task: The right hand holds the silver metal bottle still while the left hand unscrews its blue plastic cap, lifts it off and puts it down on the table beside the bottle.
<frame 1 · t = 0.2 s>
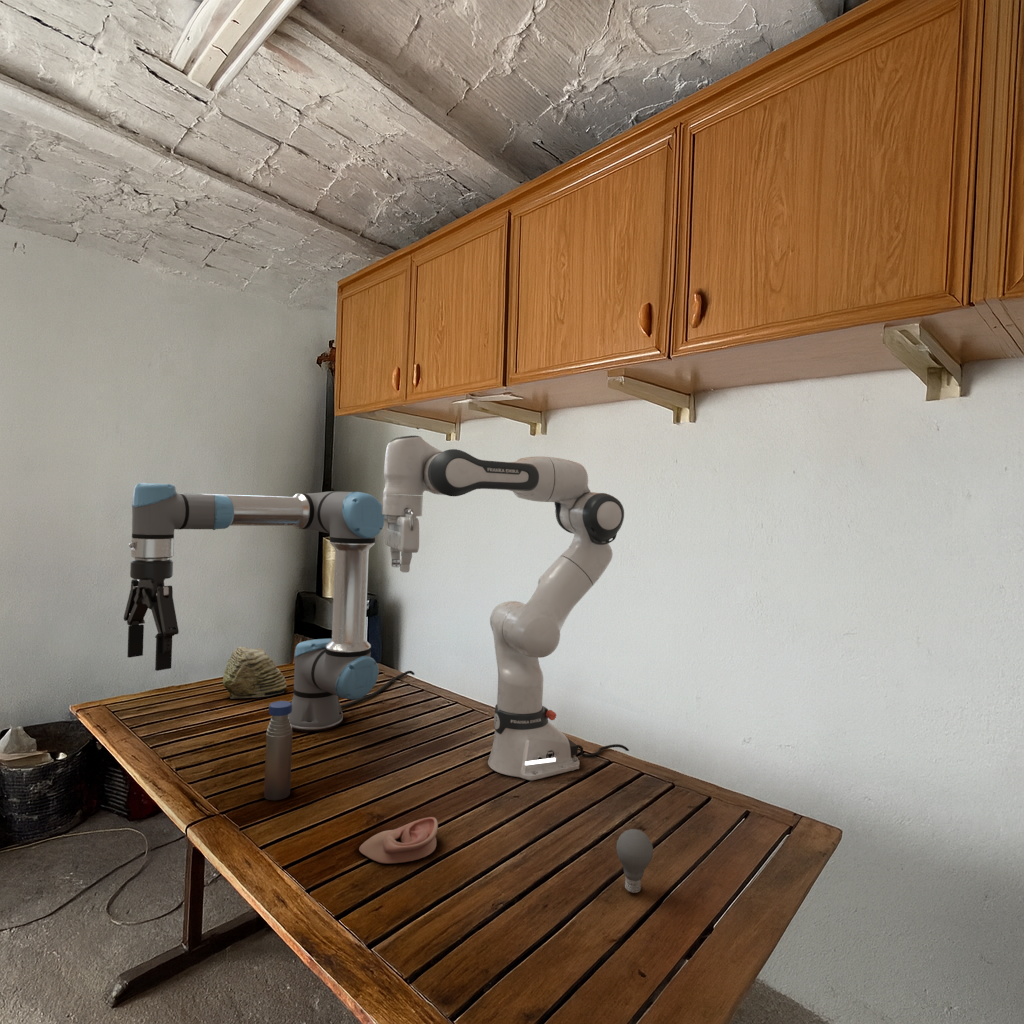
left hand: (148, 662, 129), 28 cm above the table, tool pointing down, fingers open, 13 cm apart
right hand: (400, 569, 142), 48 cm above the table, tool pointing down, fingers open, 8 cm apart
bottle: (277, 794, 134), on the table
light bulb: (632, 891, 106), on the table
fossil: (254, 694, 198), on the table
cap: (280, 705, 134), point 19 cm above the table, screwed on, not yet turned
anatomical model: (398, 848, 116), on the table
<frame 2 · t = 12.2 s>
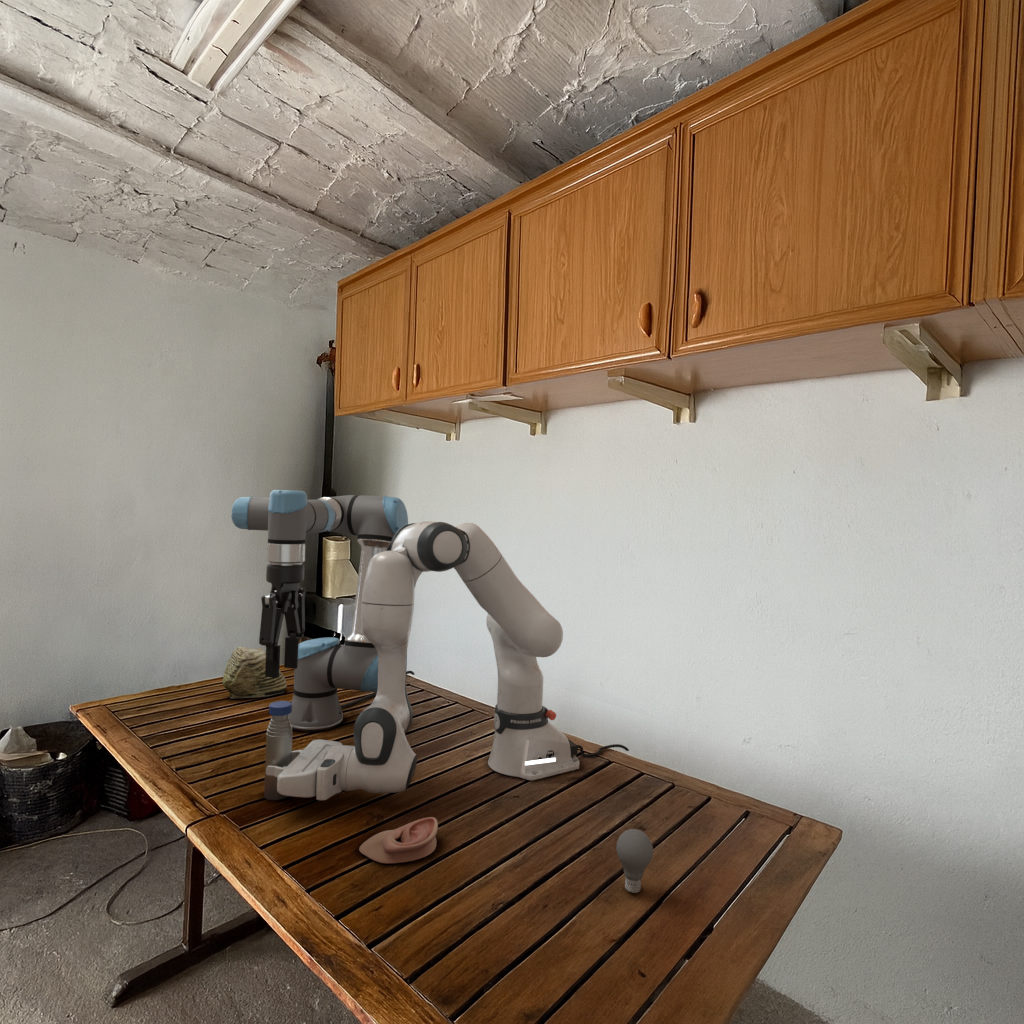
left hand: (281, 672, 133), 26 cm above the table, tool pointing down, fingers open, 7 cm apart
right hand: (274, 762, 134), 7 cm above the table, tool horizontal, fingers closed on bottle, 5 cm apart
bottle: (277, 794, 134), on the table, touching right hand
everything else where it was.
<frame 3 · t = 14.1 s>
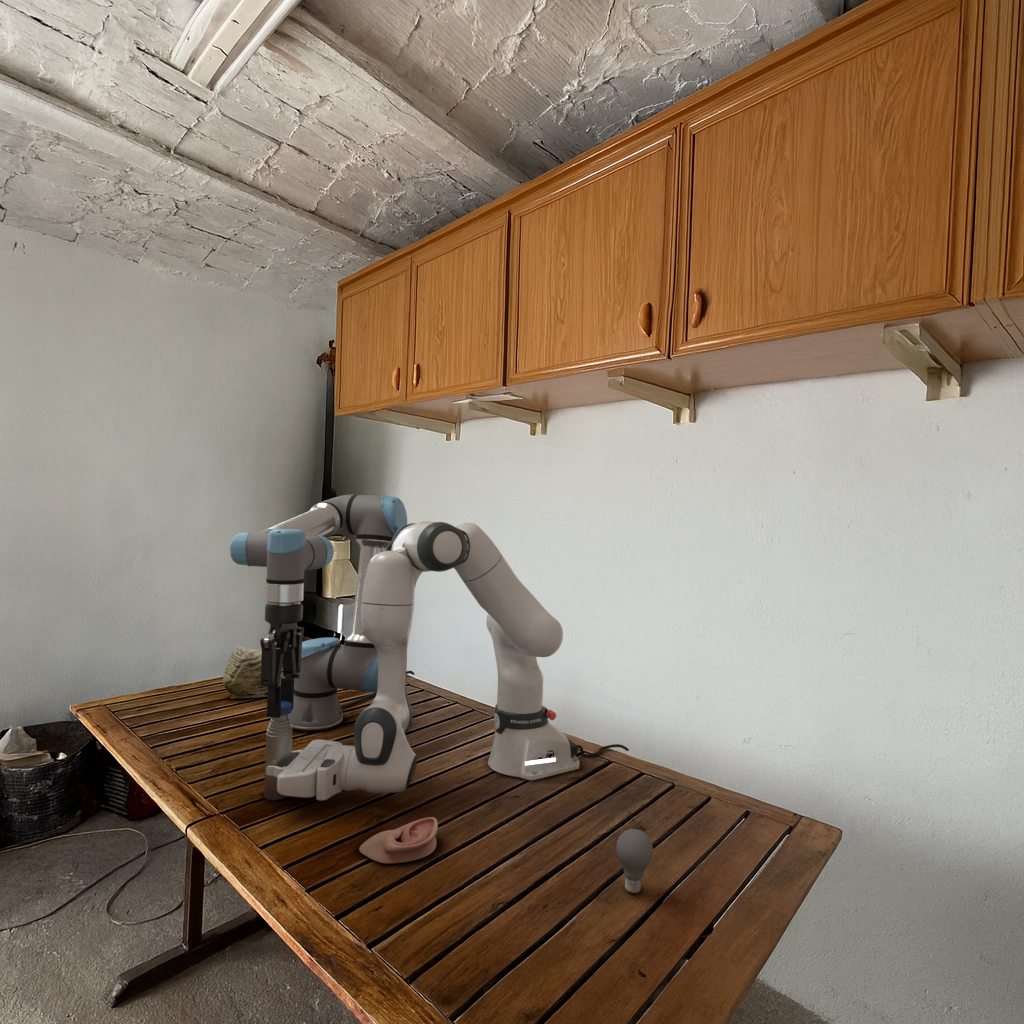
left hand: (280, 712, 134), 17 cm above the table, tool pointing down, fingers closed on cap, 4 cm apart
right hand: (274, 762, 134), 7 cm above the table, tool horizontal, fingers closed on bottle, 5 cm apart
bottle: (277, 794, 134), on the table, touching right hand
cap: (280, 705, 134), point 19 cm above the table, screwed on, not yet turned, touching left hand
everything else where it was.
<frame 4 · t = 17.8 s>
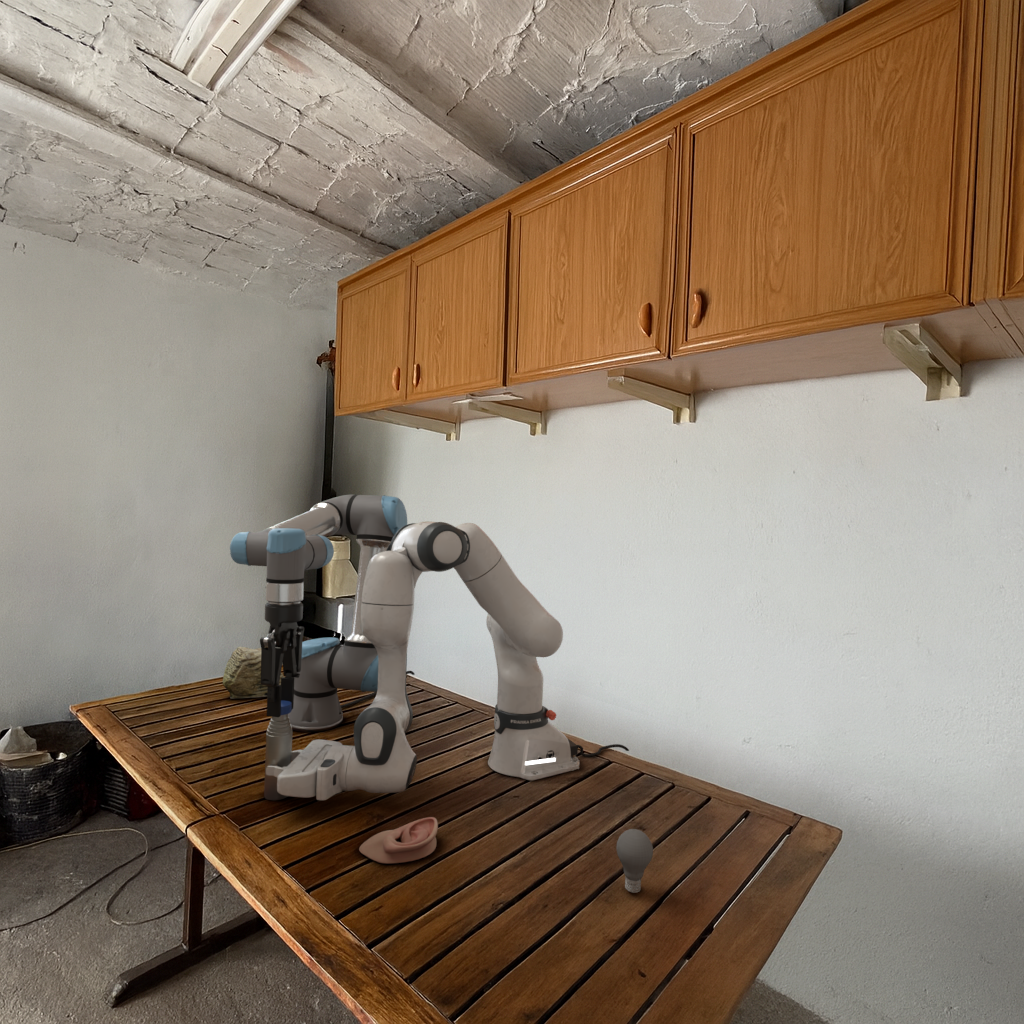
left hand: (280, 711, 134), 18 cm above the table, tool pointing down, fingers closed on cap, 4 cm apart
right hand: (274, 762, 134), 7 cm above the table, tool horizontal, fingers closed on bottle, 5 cm apart
bottle: (277, 794, 134), on the table, touching right hand
cap: (280, 705, 134), point 19 cm above the table, turned 134° so far, risen 0.1 cm, still on its thread, touching left hand
everything else where it was.
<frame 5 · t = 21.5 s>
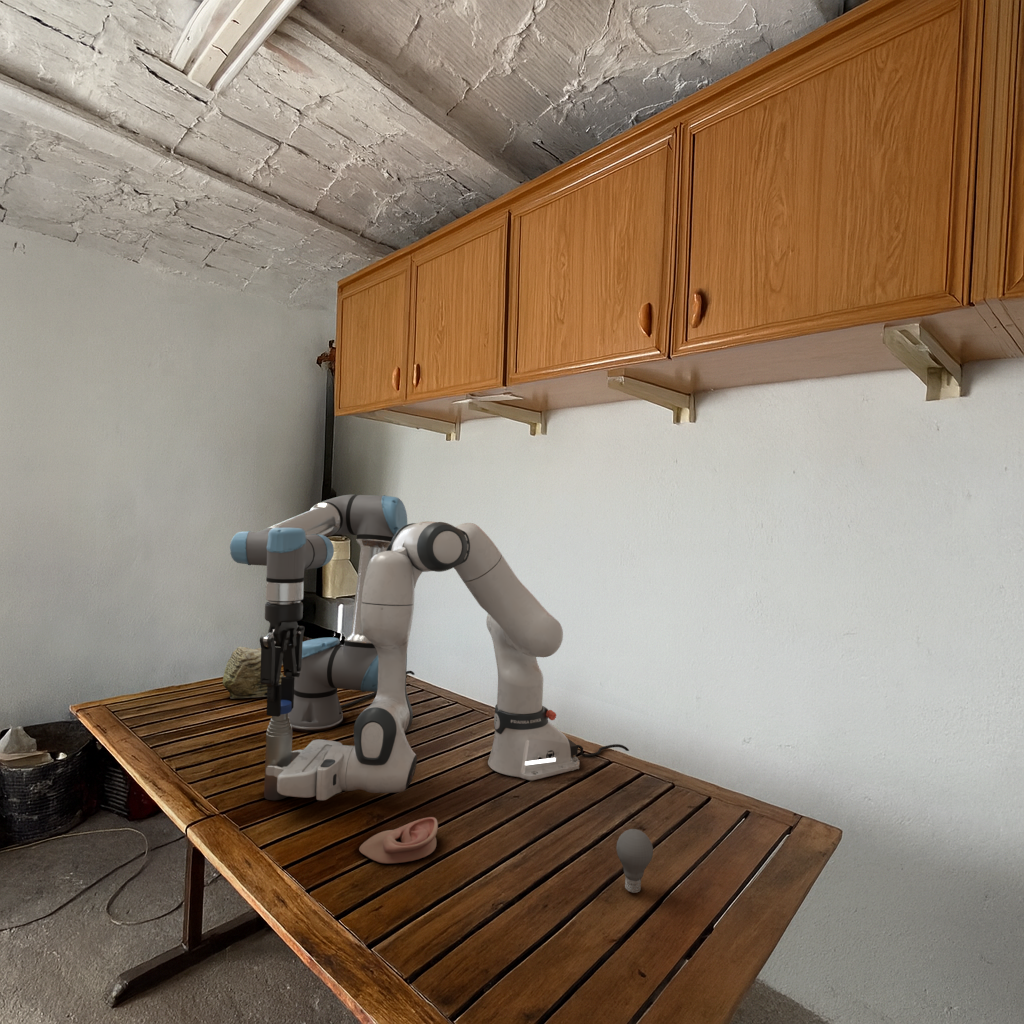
left hand: (280, 711, 134), 18 cm above the table, tool pointing down, fingers closed on cap, 4 cm apart
right hand: (274, 762, 134), 7 cm above the table, tool horizontal, fingers closed on bottle, 5 cm apart
bottle: (277, 794, 134), on the table, touching right hand
cap: (280, 704, 134), point 19 cm above the table, turned 268° so far, risen 0.3 cm, still on its thread, touching left hand
everything else where it was.
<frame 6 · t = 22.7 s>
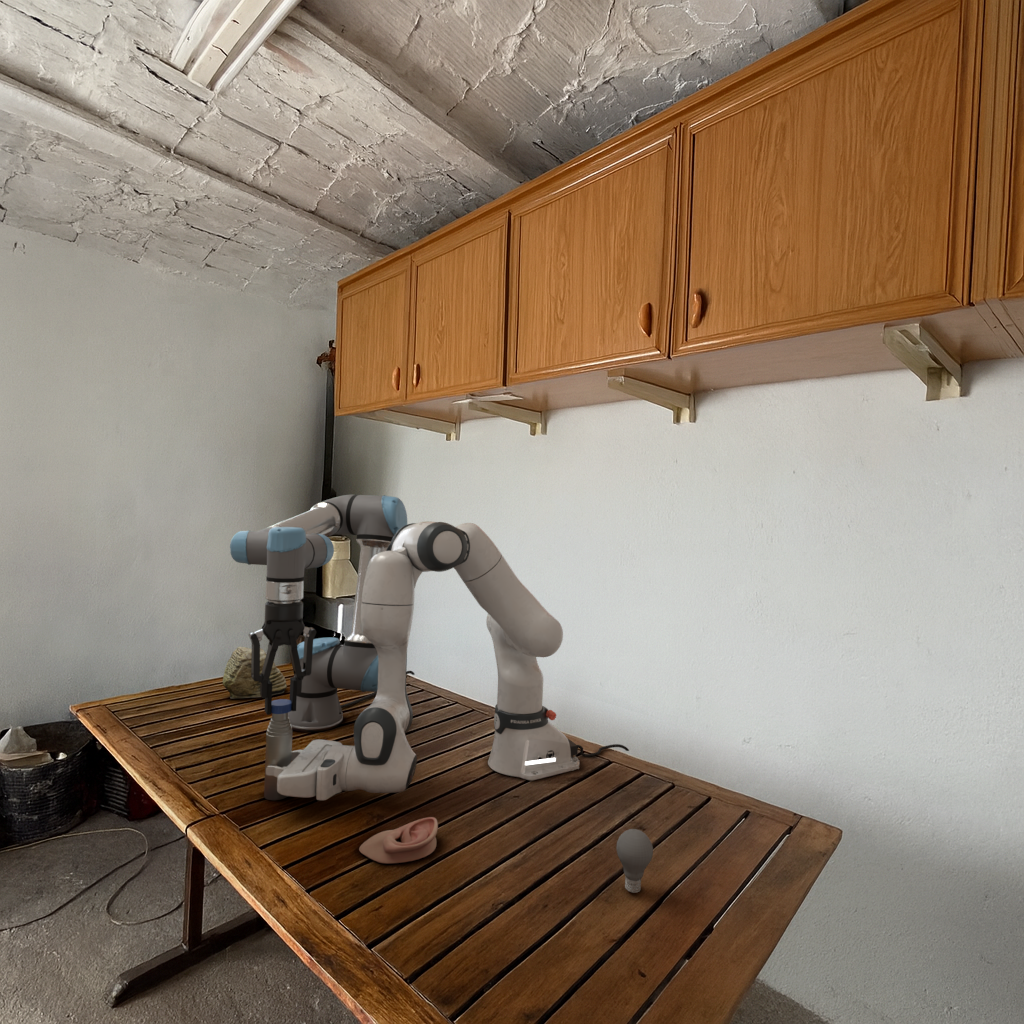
left hand: (280, 710, 134), 18 cm above the table, tool pointing down, fingers closed on cap, 4 cm apart
right hand: (274, 762, 134), 7 cm above the table, tool horizontal, fingers closed on bottle, 5 cm apart
bottle: (277, 794, 134), on the table, touching right hand
cap: (280, 703, 134), point 19 cm above the table, off its thread, touching left hand
everything else where it was.
when the left hand's fingers open (2 cm above the table, at t = 28.7 s): cap drops 2 cm, point 1 cm above the table.
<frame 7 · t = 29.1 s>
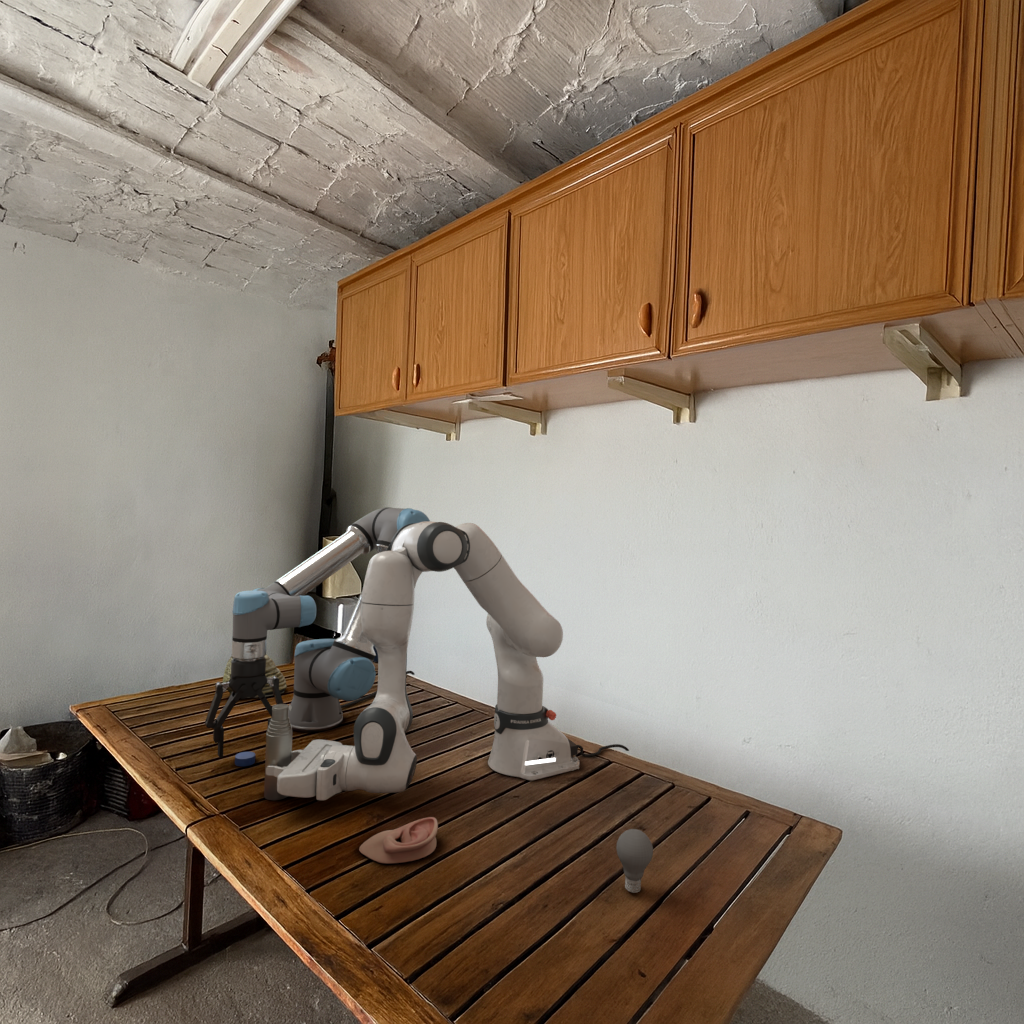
left hand: (245, 751, 149), 3 cm above the table, tool pointing down, fingers open, 10 cm apart
right hand: (274, 762, 134), 7 cm above the table, tool horizontal, fingers closed on bottle, 5 cm apart
bottle: (277, 794, 134), on the table, touching right hand
cap: (245, 756, 149), point 1 cm above the table, off its thread
everything else where it was.
when the right hand's fingers open (7 cm above the table, at t = 30.0 s): bottle stays where it is, on the table.
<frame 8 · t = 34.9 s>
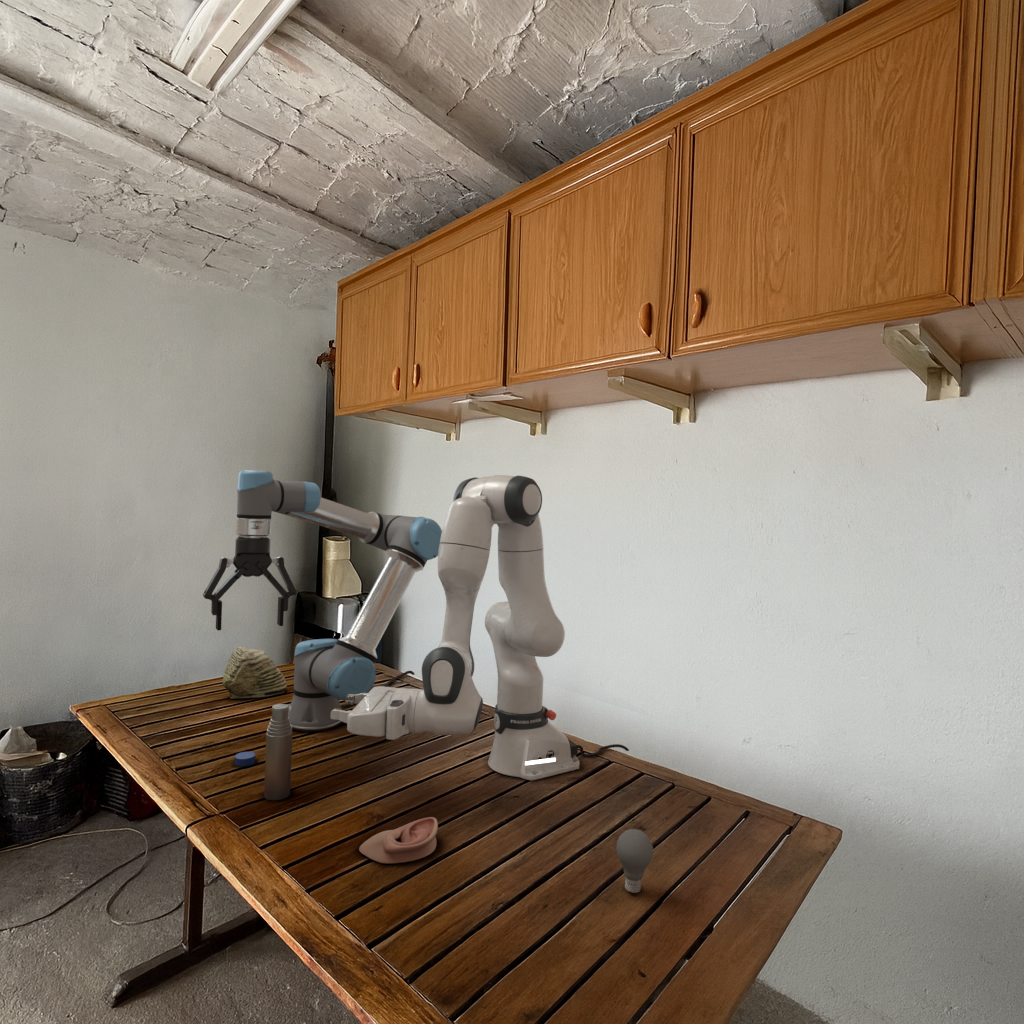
left hand: (250, 627, 148), 32 cm above the table, tool pointing down, fingers open, 13 cm apart
right hand: (339, 706, 133), 20 cm above the table, tool horizontal, fingers open, 8 cm apart
bottle: (277, 794, 134), on the table
everything else where it was.
at the end: cap came off its thread; cap point 1.4 cm above the table; the left hand is holding nothing; the right hand is holding nothing; bottle tilted 0°; bottle moved 0.0 cm from its start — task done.
